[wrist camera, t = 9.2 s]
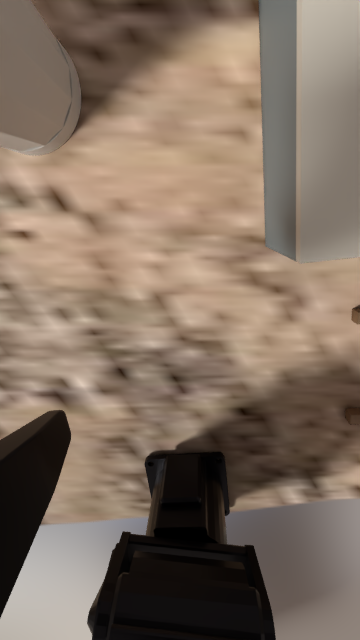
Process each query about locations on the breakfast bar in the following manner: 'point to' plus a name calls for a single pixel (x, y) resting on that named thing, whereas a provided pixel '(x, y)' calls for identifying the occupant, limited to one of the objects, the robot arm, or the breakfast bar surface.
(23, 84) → the cup
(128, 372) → the breakfast bar surface
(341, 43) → the box
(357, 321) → the coin stand
